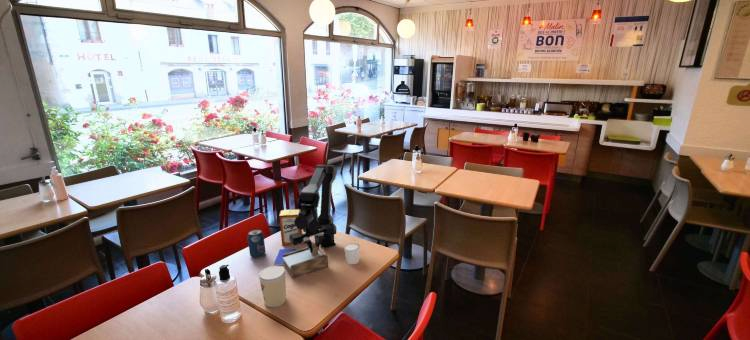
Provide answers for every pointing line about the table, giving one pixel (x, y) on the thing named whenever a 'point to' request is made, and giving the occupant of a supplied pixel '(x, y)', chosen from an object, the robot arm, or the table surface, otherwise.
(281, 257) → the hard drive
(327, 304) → the table surface
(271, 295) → the coffee cup
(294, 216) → the baking soda box
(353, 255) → the shot glass
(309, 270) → the wooden box
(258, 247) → the soda can
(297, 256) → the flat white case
